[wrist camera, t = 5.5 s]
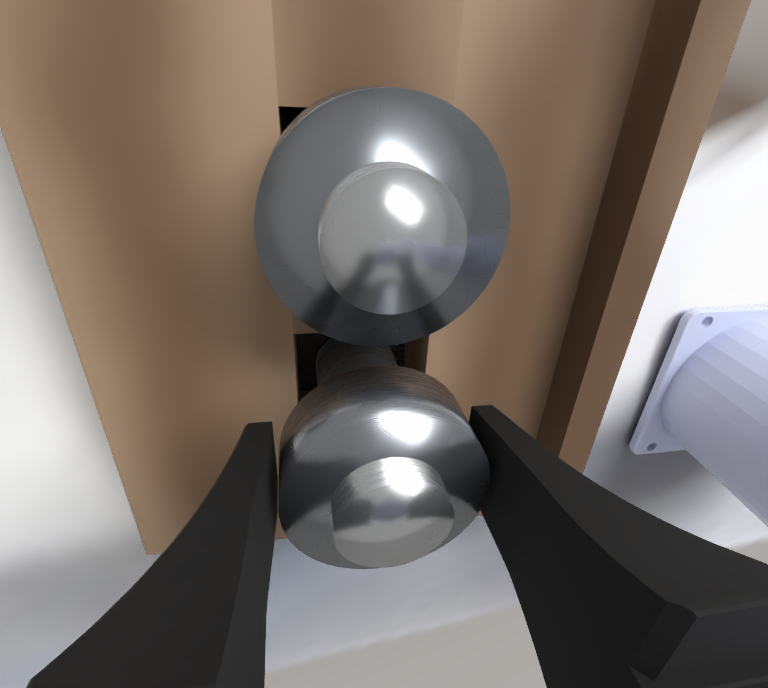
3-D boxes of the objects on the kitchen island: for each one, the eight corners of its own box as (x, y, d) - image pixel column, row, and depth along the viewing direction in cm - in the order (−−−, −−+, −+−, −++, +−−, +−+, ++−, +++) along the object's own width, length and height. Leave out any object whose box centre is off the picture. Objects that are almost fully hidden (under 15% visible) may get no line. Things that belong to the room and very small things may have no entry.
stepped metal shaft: (438, 302, 16) (531, 438, 10) (412, 420, 18) (474, 588, 12) (283, 293, 14) (282, 442, 8) (278, 421, 17) (274, 607, 11)
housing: (648, -89, 12) (810, -166, 8) (513, 458, 22) (560, 537, 18) (-20, -173, 10) (-228, -340, 6) (166, 492, 20) (134, 593, 16)
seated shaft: (440, 88, 14) (555, 94, 8) (425, 255, 16) (501, 358, 10) (261, 80, 13) (232, 79, 7) (275, 258, 15) (264, 372, 9)
